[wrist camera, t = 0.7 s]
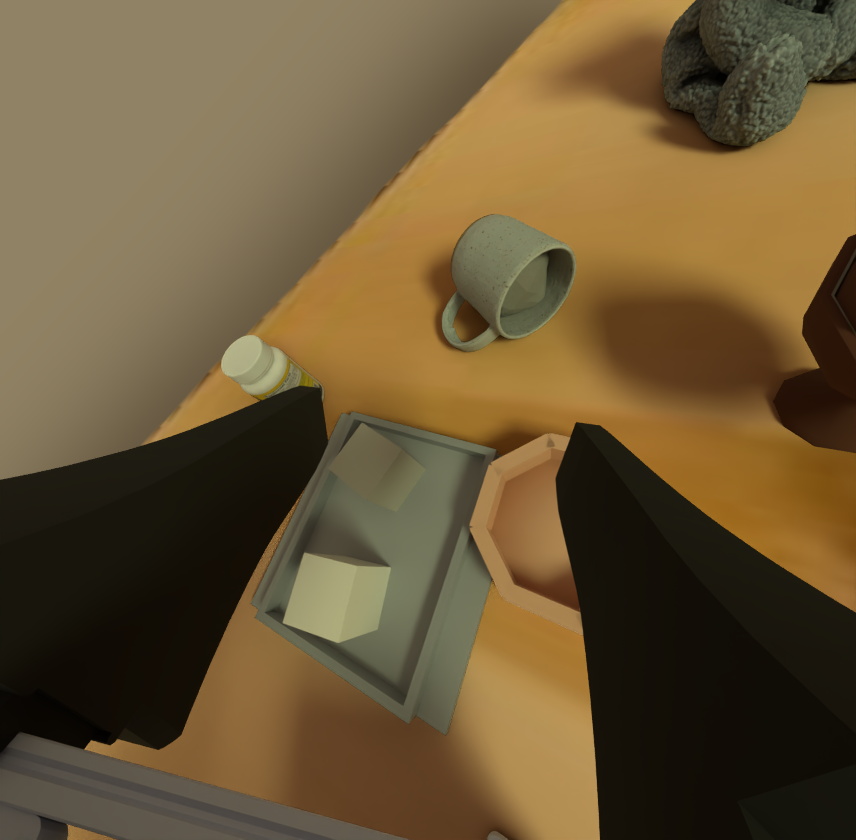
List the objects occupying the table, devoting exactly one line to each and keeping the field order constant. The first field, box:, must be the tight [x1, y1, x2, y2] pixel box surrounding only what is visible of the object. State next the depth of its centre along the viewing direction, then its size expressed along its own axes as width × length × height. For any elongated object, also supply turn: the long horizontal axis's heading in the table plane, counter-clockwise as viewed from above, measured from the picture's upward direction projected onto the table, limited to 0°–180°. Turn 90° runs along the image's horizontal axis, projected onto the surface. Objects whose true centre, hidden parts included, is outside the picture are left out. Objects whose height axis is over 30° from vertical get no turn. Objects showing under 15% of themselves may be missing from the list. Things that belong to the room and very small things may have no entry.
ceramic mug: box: [442, 214, 576, 352], centre depth 28 cm, size 11×8×8 cm
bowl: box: [469, 433, 583, 636], centre depth 21 cm, size 11×11×3 cm
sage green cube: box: [283, 553, 391, 643], centre depth 22 cm, size 4×4×5 cm
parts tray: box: [251, 412, 502, 736], centre depth 25 cm, size 17×17×2 cm
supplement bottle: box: [221, 335, 324, 402], centre depth 31 cm, size 5×5×8 cm
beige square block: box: [328, 423, 426, 512], centre depth 25 cm, size 4×4×5 cm
